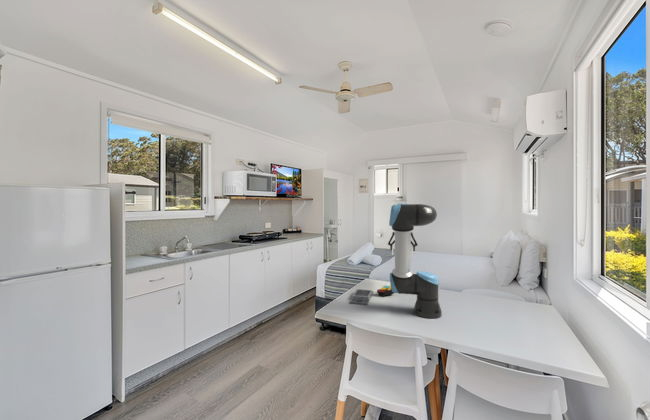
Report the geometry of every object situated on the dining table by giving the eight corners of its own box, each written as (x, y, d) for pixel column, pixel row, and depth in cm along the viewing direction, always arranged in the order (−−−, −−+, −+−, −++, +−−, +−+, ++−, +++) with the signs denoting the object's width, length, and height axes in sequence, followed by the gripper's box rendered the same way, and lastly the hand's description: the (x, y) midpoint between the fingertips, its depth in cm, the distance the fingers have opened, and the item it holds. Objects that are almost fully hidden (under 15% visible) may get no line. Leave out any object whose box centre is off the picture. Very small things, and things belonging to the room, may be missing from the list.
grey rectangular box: (367, 305, 175) (367, 300, 175) (349, 303, 178) (349, 298, 178) (373, 292, 202) (373, 288, 202) (358, 291, 205) (358, 287, 205)
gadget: (374, 294, 195) (374, 286, 195) (390, 292, 201) (390, 284, 201) (380, 297, 190) (380, 288, 190) (396, 295, 195) (396, 286, 195)
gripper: (420, 225, 200) (421, 255, 200) (385, 224, 208) (385, 253, 208) (421, 225, 193) (421, 257, 193) (384, 225, 201) (384, 255, 201)
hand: (402, 255), depth 200 cm, fingers open, 13 cm apart
